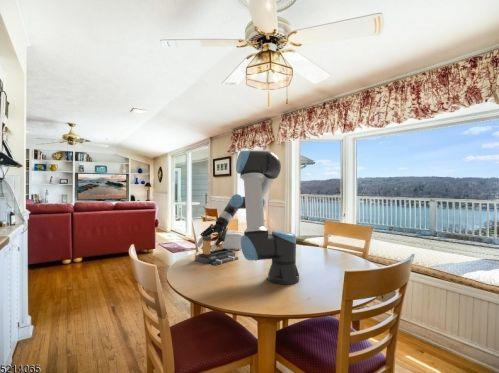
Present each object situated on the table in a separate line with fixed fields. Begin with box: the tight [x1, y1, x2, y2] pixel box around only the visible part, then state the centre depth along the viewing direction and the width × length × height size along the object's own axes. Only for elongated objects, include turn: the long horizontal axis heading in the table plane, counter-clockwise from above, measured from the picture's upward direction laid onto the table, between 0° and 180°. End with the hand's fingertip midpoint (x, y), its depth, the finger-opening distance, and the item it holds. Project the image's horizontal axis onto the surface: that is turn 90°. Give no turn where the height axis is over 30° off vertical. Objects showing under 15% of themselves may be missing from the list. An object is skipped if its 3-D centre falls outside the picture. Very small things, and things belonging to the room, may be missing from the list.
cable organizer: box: [221, 230, 244, 251], centre depth 201 cm, size 15×11×12 cm
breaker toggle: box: [202, 235, 212, 256], centre depth 167 cm, size 4×4×11 cm
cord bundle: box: [210, 255, 239, 266], centre depth 166 cm, size 18×5×2 cm, turn 138°
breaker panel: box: [194, 247, 236, 265], centre depth 172 cm, size 22×12×4 cm, turn 138°
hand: (204, 248), depth 166 cm, fingers open, 13 cm apart
